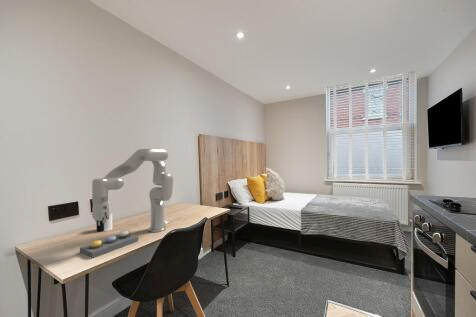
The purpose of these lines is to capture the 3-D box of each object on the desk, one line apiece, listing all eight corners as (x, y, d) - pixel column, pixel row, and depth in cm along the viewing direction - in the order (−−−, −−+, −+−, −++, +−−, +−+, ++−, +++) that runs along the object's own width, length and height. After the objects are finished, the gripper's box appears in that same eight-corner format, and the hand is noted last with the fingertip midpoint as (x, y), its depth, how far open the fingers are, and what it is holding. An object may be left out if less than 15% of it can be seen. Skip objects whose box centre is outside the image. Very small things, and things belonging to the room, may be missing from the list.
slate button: (112, 238, 123) (112, 235, 124) (117, 239, 121) (117, 236, 121) (104, 241, 119) (104, 237, 119) (108, 242, 117) (108, 239, 117)
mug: (91, 231, 146) (92, 215, 146) (100, 227, 155) (100, 212, 155) (107, 231, 146) (107, 215, 146) (115, 227, 154) (115, 212, 154)
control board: (125, 237, 135) (125, 232, 135) (138, 241, 128) (138, 236, 128) (79, 252, 112) (79, 246, 112) (92, 258, 105) (92, 252, 105)
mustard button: (98, 243, 117) (98, 239, 117) (103, 244, 114) (103, 241, 114) (88, 246, 112) (88, 242, 112) (93, 248, 110) (93, 244, 110)
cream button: (125, 232, 130) (125, 229, 130) (130, 234, 128) (130, 231, 128) (117, 235, 126) (117, 232, 126) (122, 236, 124) (122, 233, 124)
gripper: (114, 200, 115) (114, 231, 115) (100, 197, 122) (100, 227, 122) (99, 202, 108) (100, 236, 108) (86, 199, 116) (86, 231, 115)
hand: (100, 231), depth 115 cm, fingers closed
